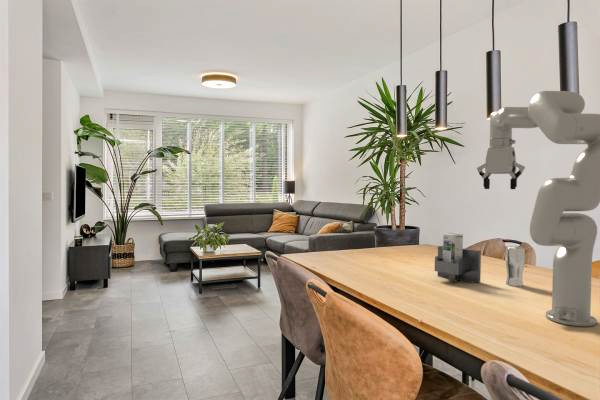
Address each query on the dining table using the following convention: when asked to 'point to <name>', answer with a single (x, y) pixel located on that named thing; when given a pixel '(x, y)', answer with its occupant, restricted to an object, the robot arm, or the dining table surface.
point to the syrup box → (452, 247)
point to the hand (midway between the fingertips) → (499, 189)
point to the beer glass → (514, 265)
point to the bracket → (460, 266)
